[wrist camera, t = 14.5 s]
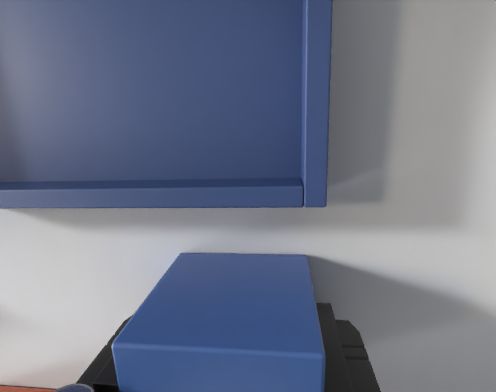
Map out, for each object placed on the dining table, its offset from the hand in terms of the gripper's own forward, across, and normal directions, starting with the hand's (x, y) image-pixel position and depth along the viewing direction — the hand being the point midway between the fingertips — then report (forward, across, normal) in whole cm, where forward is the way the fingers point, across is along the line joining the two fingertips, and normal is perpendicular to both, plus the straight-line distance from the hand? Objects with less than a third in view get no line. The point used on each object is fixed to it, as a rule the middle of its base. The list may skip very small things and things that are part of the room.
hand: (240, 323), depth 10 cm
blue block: (+1, 0, 0) cm, 1 cm away
